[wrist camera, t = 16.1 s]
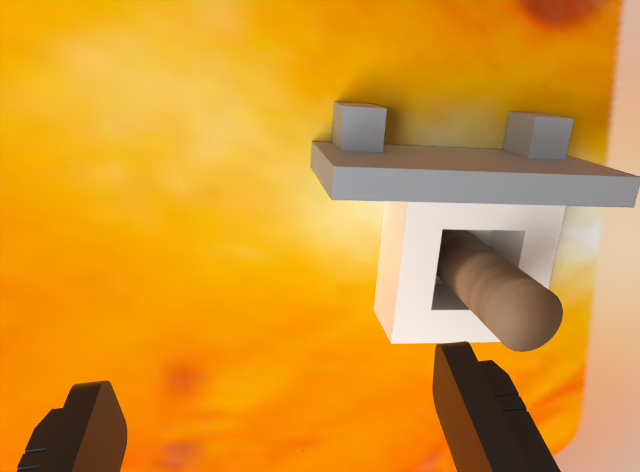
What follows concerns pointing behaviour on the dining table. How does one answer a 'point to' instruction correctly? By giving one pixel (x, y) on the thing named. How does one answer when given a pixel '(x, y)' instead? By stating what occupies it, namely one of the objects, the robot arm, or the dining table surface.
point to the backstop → (464, 166)
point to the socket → (422, 259)
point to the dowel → (498, 292)
